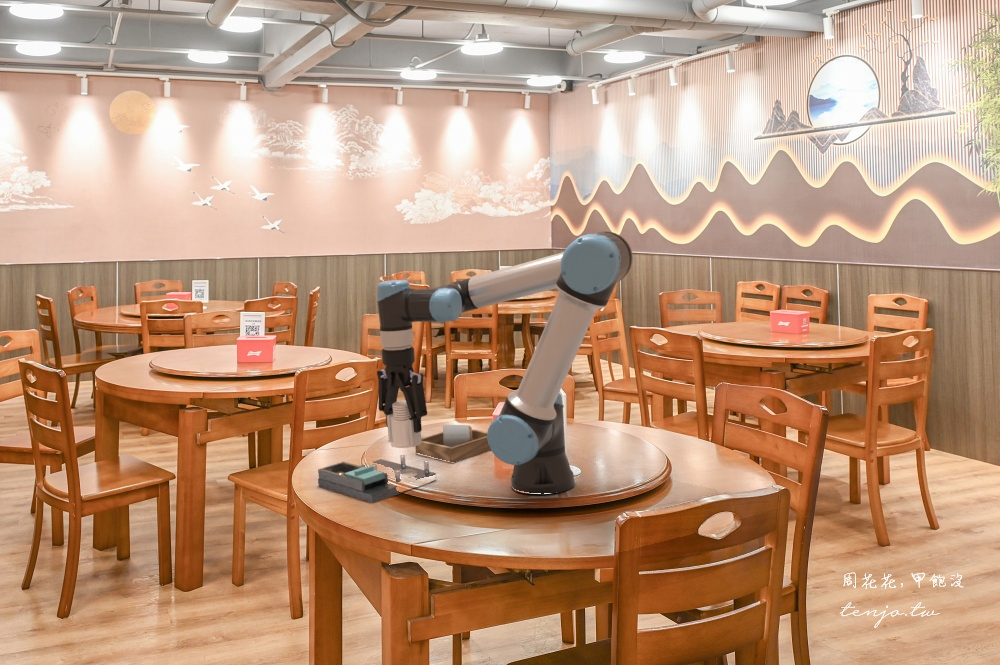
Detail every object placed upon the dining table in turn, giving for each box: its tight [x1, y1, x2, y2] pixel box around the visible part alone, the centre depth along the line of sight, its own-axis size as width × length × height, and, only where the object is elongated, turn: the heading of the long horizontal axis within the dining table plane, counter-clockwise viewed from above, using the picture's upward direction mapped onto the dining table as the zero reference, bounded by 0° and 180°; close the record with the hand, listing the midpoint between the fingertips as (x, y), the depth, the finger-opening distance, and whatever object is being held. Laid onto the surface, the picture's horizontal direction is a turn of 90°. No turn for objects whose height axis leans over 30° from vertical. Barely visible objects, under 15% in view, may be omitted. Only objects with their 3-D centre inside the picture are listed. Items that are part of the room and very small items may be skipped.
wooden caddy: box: [414, 428, 491, 463], centre depth 250 cm, size 15×17×4 cm
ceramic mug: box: [442, 424, 473, 447], centre depth 252 cm, size 11×8×8 cm
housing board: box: [317, 454, 437, 504], centre depth 226 cm, size 22×20×5 cm
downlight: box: [390, 400, 412, 449], centre depth 212 cm, size 8×7×10 cm
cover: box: [344, 466, 385, 485], centre depth 219 cm, size 8×6×2 cm
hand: (405, 442), depth 212 cm, fingers closed on downlight, 7 cm apart
